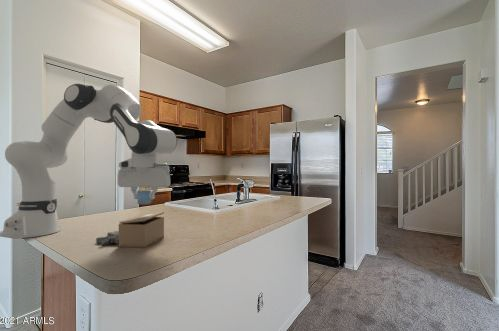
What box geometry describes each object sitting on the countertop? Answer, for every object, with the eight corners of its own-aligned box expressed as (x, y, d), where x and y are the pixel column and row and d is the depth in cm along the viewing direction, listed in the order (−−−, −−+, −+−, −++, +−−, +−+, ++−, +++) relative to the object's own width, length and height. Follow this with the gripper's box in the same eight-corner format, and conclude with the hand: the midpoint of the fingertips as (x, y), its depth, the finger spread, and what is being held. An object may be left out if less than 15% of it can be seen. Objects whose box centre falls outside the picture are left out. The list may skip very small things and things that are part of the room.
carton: (118, 246, 89) (118, 224, 89) (141, 235, 103) (141, 216, 103) (144, 247, 88) (144, 224, 88) (163, 236, 102) (163, 216, 102)
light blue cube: (134, 204, 95) (134, 190, 95) (142, 202, 99) (142, 189, 99) (146, 204, 94) (146, 190, 94) (153, 202, 99) (153, 189, 99)
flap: (119, 223, 89) (119, 221, 89) (142, 215, 103) (142, 213, 103) (144, 221, 88) (144, 219, 88) (164, 213, 102) (163, 211, 102)
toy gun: (134, 224, 117) (160, 224, 111) (134, 231, 117) (160, 231, 111) (81, 238, 93) (111, 238, 88) (81, 246, 93) (111, 247, 88)
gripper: (173, 162, 98) (173, 198, 98) (125, 163, 101) (125, 197, 101) (165, 162, 92) (165, 200, 92) (114, 163, 95) (115, 199, 95)
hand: (144, 198), depth 97 cm, fingers closed on light blue cube, 5 cm apart
